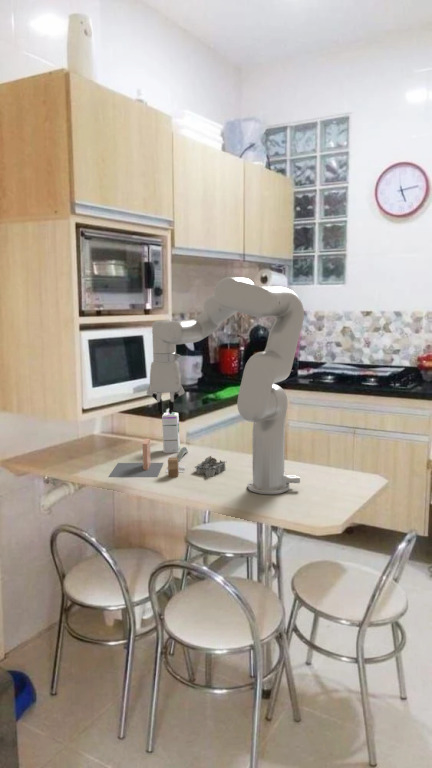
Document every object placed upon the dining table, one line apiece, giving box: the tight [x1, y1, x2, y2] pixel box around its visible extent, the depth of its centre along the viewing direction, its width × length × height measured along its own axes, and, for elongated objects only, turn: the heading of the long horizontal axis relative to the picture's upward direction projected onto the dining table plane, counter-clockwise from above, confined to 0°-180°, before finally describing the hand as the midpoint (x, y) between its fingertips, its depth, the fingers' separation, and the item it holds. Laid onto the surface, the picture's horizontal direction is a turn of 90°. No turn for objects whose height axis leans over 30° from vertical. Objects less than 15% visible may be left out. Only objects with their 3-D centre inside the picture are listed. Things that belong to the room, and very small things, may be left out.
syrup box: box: [161, 411, 181, 454], centre depth 220 cm, size 6×6×14 cm
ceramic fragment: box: [170, 446, 189, 463], centre depth 213 cm, size 14×5×4 cm, turn 168°
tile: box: [141, 438, 152, 470], centre depth 200 cm, size 2×7×9 cm, turn 178°
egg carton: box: [194, 455, 227, 477], centre depth 196 cm, size 11×8×4 cm
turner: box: [165, 456, 186, 478], centre depth 195 cm, size 12×6×6 cm, turn 178°
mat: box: [107, 462, 164, 478], centre depth 198 cm, size 16×16×1 cm
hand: (166, 412), depth 198 cm, fingers open, 2 cm apart
